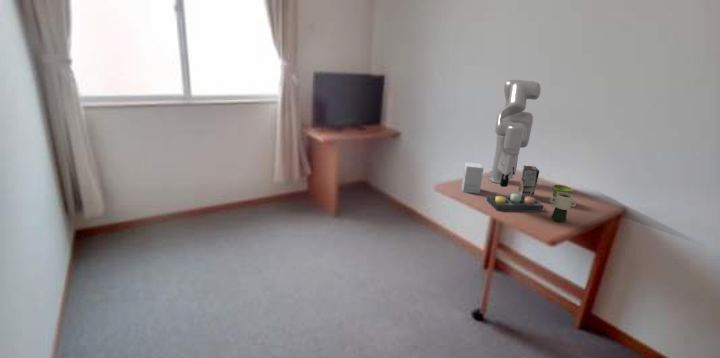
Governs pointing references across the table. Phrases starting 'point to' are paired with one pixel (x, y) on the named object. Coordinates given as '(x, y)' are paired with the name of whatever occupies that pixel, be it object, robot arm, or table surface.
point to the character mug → (562, 205)
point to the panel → (515, 205)
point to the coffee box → (528, 181)
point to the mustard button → (500, 199)
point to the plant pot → (561, 189)
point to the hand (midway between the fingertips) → (503, 186)
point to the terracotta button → (529, 199)
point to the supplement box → (472, 177)
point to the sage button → (515, 198)
